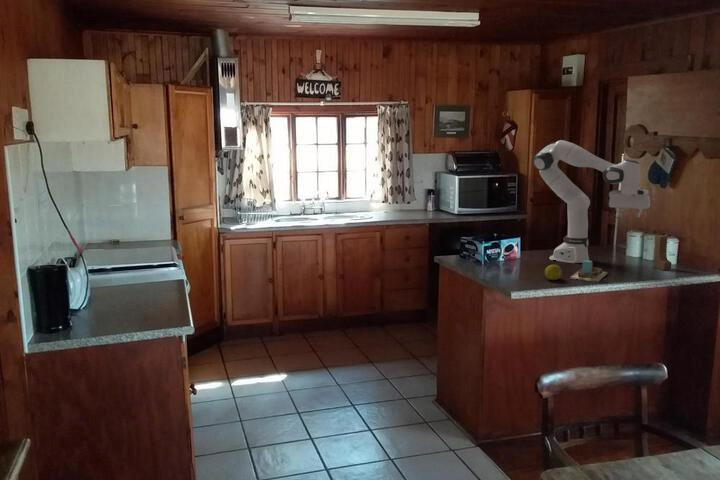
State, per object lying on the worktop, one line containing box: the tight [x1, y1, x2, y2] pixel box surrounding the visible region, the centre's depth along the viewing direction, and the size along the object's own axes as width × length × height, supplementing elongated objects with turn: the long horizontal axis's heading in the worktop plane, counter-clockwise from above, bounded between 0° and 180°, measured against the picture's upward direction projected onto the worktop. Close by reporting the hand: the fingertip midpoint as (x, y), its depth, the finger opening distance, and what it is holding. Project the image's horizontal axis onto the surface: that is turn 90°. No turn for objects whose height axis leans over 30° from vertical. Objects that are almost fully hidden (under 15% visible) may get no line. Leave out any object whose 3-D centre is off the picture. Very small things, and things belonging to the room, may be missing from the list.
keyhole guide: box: [569, 267, 608, 283], centre depth 331 cm, size 14×20×3 cm
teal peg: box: [581, 260, 593, 274], centre depth 327 cm, size 4×4×8 cm
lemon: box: [544, 264, 563, 281], centre depth 325 cm, size 11×8×8 cm
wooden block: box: [653, 234, 672, 271], centre depth 343 cm, size 9×4×18 cm, turn 12°
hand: (628, 216), depth 335 cm, fingers open, 8 cm apart
